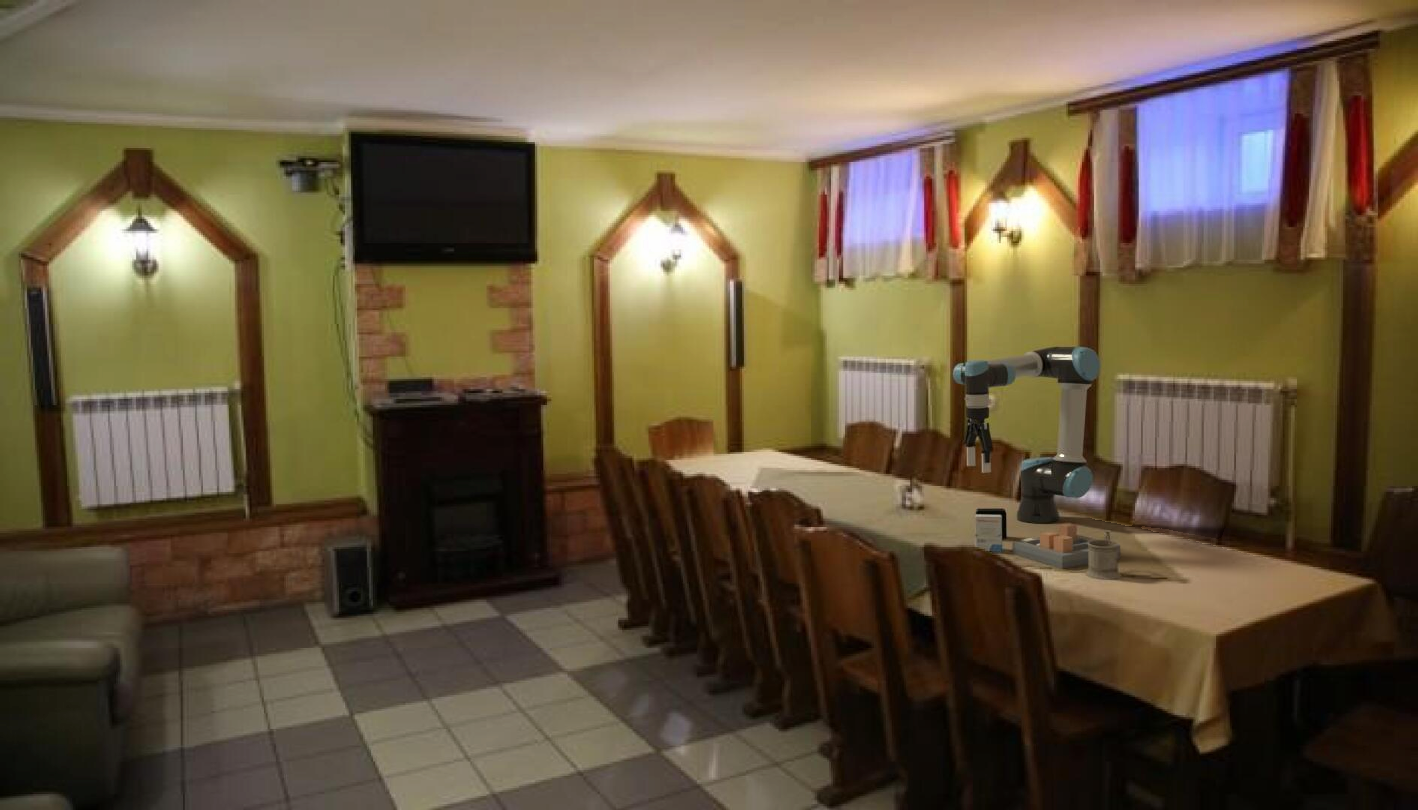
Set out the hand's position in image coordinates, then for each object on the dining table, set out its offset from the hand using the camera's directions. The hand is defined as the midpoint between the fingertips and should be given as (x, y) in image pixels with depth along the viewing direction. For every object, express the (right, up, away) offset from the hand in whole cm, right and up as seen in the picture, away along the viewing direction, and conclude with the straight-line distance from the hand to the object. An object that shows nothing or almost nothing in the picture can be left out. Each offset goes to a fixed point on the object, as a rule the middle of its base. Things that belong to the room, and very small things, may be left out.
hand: (978, 469), depth 334 cm
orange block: (+20, -26, -25) cm, 41 cm away
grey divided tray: (+23, -27, -17) cm, 39 cm away
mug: (+27, -29, -38) cm, 55 cm away
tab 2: (+27, -24, -9) cm, 37 cm away
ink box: (+2, -27, -5) cm, 27 cm away
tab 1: (+17, -25, -20) cm, 36 cm away
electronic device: (+7, -25, +11) cm, 28 cm away
